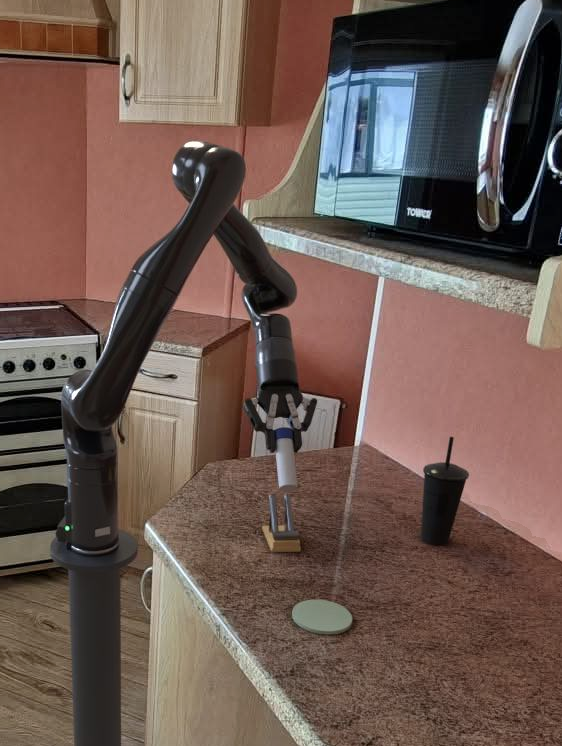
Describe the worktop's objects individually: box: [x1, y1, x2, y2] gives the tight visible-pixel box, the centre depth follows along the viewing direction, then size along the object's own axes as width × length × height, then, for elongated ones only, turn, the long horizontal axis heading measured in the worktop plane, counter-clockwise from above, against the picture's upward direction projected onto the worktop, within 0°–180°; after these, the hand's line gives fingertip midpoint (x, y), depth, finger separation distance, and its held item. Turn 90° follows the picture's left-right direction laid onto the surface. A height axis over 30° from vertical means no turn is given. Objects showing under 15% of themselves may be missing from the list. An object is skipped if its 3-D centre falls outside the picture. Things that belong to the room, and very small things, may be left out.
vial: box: [273, 426, 299, 492], centre depth 141 cm, size 10×4×10 cm, turn 2°
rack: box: [261, 493, 302, 553], centre depth 144 cm, size 9×5×8 cm, turn 2°
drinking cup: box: [420, 436, 470, 546], centre depth 142 cm, size 8×8×20 cm
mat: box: [291, 598, 353, 635], centre depth 121 cm, size 9×9×1 cm
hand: (284, 450), depth 142 cm, fingers closed on vial, 3 cm apart
